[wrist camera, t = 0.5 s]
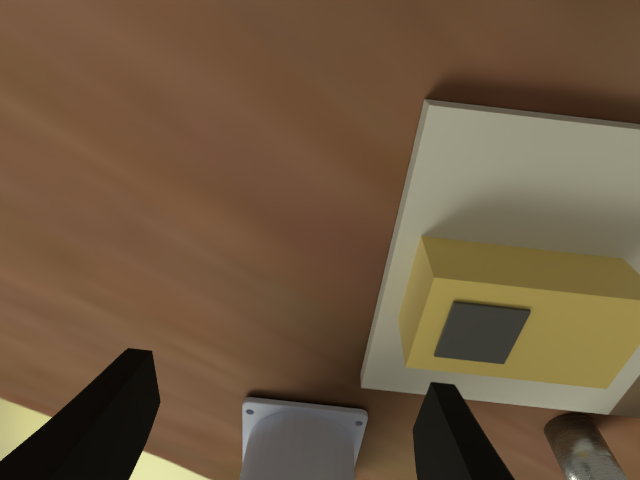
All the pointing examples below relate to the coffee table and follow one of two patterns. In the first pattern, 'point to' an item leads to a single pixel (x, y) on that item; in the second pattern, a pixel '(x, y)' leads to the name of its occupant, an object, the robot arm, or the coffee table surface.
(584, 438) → the banded metal canister
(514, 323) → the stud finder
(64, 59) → the coffee table surface
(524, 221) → the subfloor board
